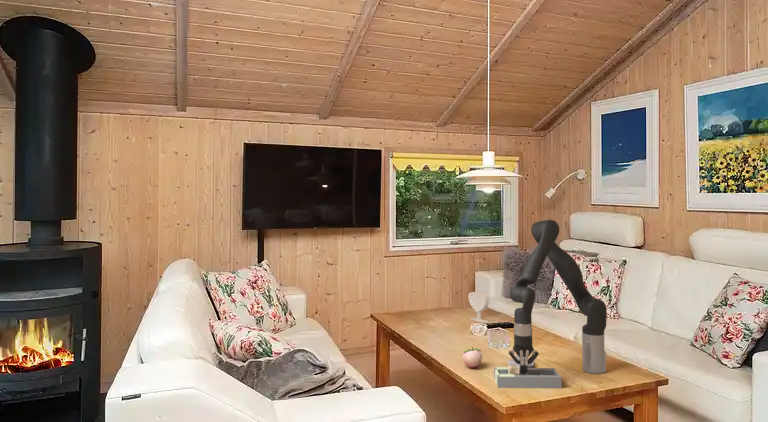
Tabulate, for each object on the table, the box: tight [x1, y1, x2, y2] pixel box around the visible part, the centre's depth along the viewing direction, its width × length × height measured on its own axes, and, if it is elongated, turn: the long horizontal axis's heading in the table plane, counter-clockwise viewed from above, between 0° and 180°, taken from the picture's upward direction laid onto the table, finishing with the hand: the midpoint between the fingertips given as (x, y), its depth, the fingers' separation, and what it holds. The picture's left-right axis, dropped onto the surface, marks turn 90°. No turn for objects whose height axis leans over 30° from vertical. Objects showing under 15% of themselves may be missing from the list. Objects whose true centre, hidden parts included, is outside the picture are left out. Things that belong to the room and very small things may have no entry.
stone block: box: [507, 354, 536, 368], centre depth 235 cm, size 12×5×10 cm
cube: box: [507, 364, 519, 375], centre depth 215 cm, size 4×4×4 cm
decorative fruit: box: [462, 346, 483, 369], centre depth 235 cm, size 9×8×10 cm
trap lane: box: [493, 366, 563, 389], centre depth 215 cm, size 26×12×5 cm, turn 86°
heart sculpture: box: [468, 291, 490, 324], centre depth 325 cm, size 16×5×18 cm, turn 34°
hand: (523, 373), depth 215 cm, fingers closed
